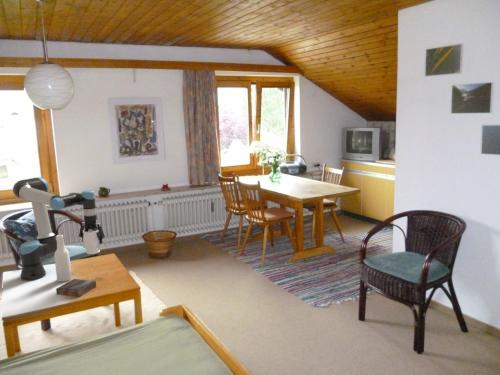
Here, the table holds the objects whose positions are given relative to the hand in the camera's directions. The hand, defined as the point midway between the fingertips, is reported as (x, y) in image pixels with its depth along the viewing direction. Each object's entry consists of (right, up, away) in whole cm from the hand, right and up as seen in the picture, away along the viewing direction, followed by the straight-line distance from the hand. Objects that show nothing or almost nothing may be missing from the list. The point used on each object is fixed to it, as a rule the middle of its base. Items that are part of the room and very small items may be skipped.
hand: (92, 248), depth 279 cm
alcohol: (-19, -21, +2) cm, 29 cm away
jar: (0, -3, +1) cm, 3 cm away
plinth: (-4, -24, -16) cm, 29 cm away
